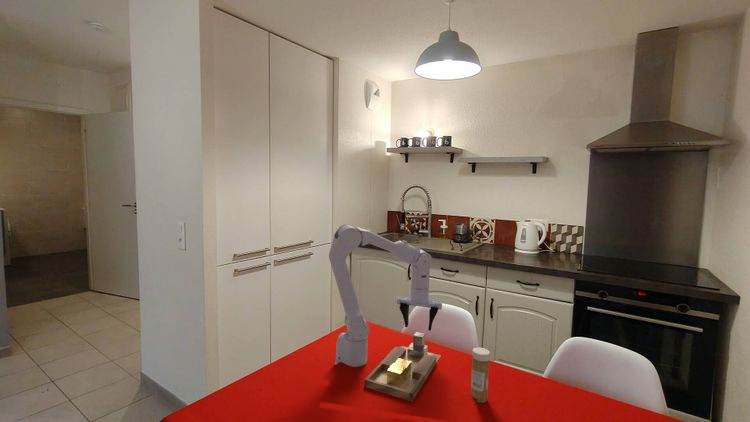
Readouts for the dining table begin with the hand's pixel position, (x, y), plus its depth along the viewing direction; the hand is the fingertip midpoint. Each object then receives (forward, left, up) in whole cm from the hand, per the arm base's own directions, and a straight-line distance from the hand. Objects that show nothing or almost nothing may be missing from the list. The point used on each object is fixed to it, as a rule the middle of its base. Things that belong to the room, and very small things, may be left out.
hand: (418, 327), depth 117 cm
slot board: (0, -10, -10) cm, 15 cm away
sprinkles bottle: (+22, -13, -11) cm, 28 cm away
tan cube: (0, -14, -9) cm, 17 cm away
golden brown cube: (0, -18, -9) cm, 20 cm away
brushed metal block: (0, +1, -9) cm, 10 cm away
